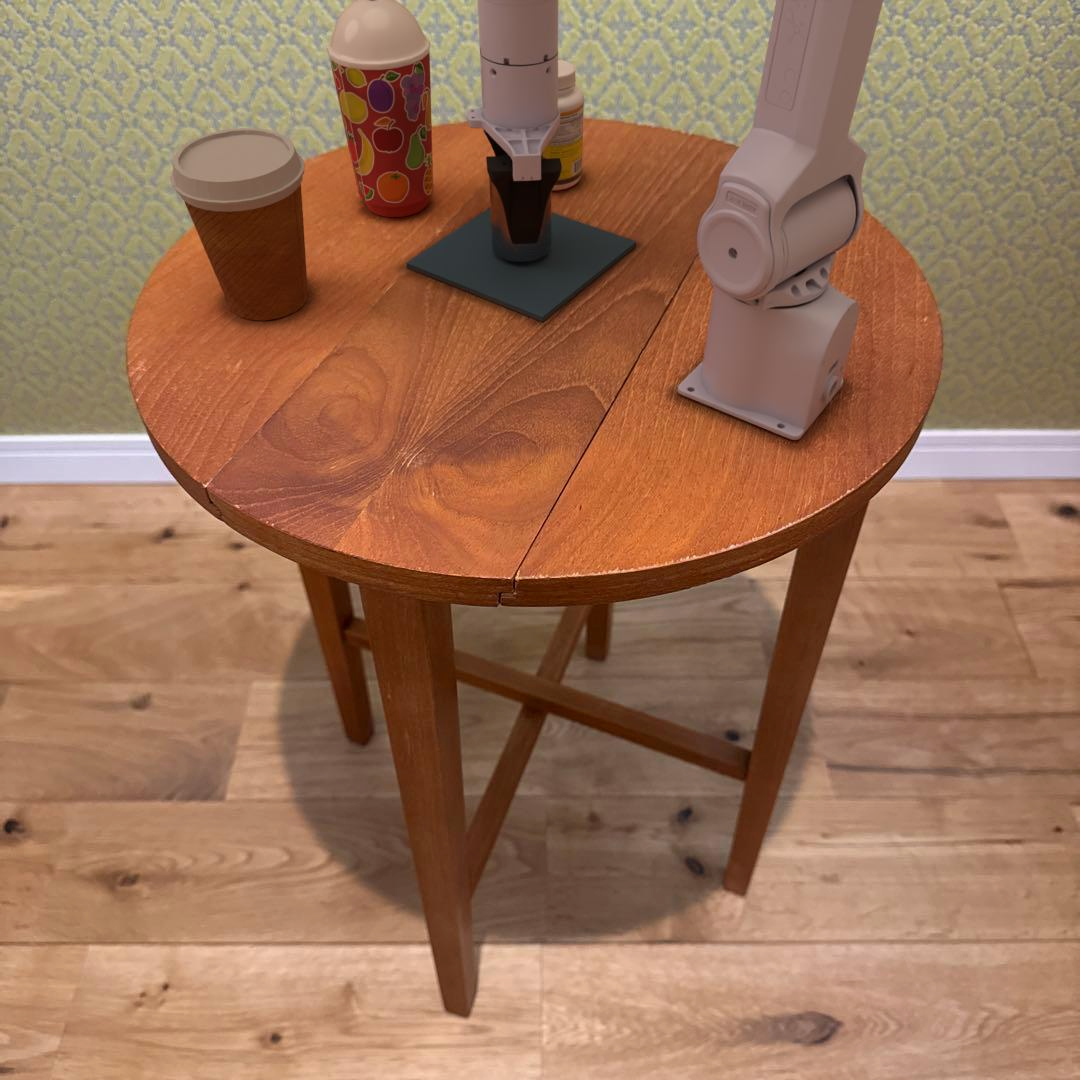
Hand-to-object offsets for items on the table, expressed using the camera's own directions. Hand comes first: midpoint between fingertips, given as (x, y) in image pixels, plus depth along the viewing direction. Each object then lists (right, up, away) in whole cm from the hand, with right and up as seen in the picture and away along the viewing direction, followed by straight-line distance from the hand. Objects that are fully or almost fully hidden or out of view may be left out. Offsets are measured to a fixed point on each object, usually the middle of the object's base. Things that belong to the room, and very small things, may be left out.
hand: (522, 224), depth 80 cm
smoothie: (-12, +5, +9) cm, 15 cm away
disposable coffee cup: (-20, -7, -2) cm, 22 cm away
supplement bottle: (+3, +8, +12) cm, 15 cm away
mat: (0, -2, +2) cm, 3 cm away
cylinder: (0, -1, +1) cm, 2 cm away
